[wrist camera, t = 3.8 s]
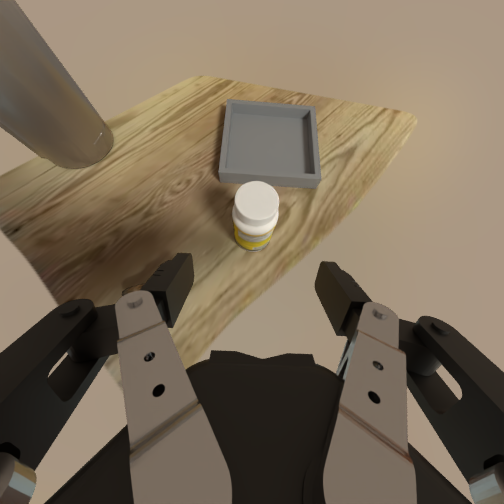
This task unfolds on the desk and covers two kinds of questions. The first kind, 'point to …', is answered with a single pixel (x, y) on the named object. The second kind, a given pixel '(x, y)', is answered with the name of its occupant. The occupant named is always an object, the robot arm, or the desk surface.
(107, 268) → the desk surface
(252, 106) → the tray
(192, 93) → the desk surface
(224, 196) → the desk surface
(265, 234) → the supplement bottle
